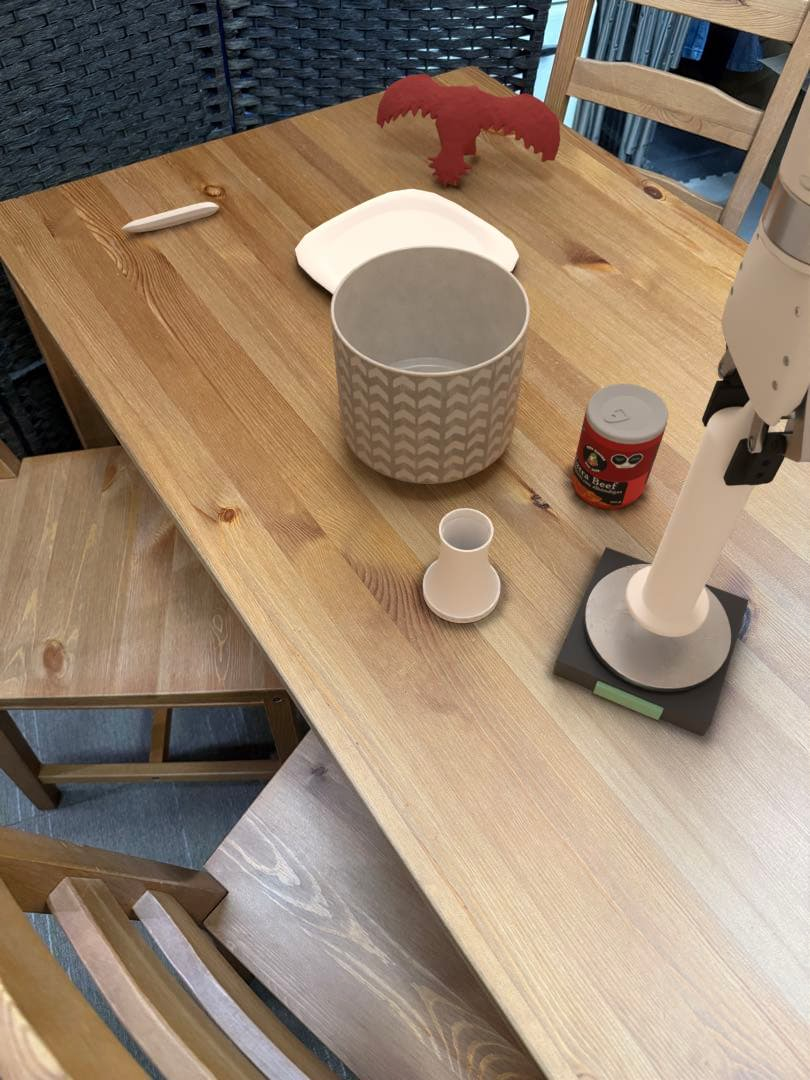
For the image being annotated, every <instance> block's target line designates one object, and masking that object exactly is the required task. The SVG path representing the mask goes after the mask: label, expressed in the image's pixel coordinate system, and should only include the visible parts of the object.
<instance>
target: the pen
mask: <svg viewBox="0 0 810 1080" xmlns="http://www.w3.org/2000/svg"><path fill="white" fill-rule="evenodd" d="M219 208H220V206H219V205H218V204H217V203H215V202H211V201H203V202H199V203H194V204H190V205H186V206H183V207H178V208H175V209H172V210H168V211H164V212H161V213H157V214H154V215H149V216H146V217H143V218H138V219H135V220H132V221H130V222H128V223H126V224H125V225H124V226H122V227H121V228H120V230H122V231H125V232H131V233H143V232H144V233H145V232H151V231H157V230H161V229H162V230H163V229H167V228H171V227H175V226H178V225H182V224H186V223H190V222H192V221H196V220H200V219H204V218H207V217H210V216H212V215H214V214H215V213H217V212H218V211H219Z"/></svg>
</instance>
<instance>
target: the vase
mask: <svg viewBox="0 0 810 1080" xmlns="http://www.w3.org/2000/svg"><path fill="white" fill-rule="evenodd" d="M494 530H495V529H494V526H493V522H492V521H491V520H490V517H488V516H487V515H486V514H485V513H483V512H482V511H480V510H477V509H475V508H467V507H466V508H465V507H463V508H456V509H454V510H451V511H449V512H448V513H446V514H445V515H444V516H443V517H442V518H441V520H440V522H439V526H438V534H439V539H440V550H439V556H438V558H437V559H435V560H434V561H433V562H432V563H431V564H430V565H429V567H428V568H427V569H426V571H425V573H424V576H423V580H422V595H423V599H424V601H425V603H426V606H427V607H428V608H429V610H431V612H433V613H434V614H435V615H436V616H437V617H439V618H441V619H443V620H445V621H447V622H451V623H454V624H455V623H456V624H470V623H473V622H474V623H475V622H477V621H479V620H482V619H484V618H485V617H487V616H489V615H490V614H491V613H492V612H493V610H494V609H495V608H496V607H497V605H498V602H499V600H500V594H501V580H500V577H499V574H498V572H497V571H496V569H495V568H494V567H493V566H492V564H491V563H490V560H489V551H490V550H489V549H490V545H491V543H492V539H493V536H494V532H495V531H494Z"/></svg>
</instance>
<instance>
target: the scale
mask: <svg viewBox="0 0 810 1080" xmlns="http://www.w3.org/2000/svg"><path fill="white" fill-rule="evenodd" d="M648 566H652V563H650V562H647V561H645V560H642V559H639V558H637V557H634V556H632V555H629V554H627V553H623V552H621V551H619V550H616V549H613V548H611V547H606V546H605V548H604V550H603V553H602V554H601V557H600V559H599V562H598V564H597V566H596V568H595V570H594V573H593V575H592V577H591V579H590V582H589V584H588V586H587V589H586V591H585V593H584V596H583V598H582V600H581V602H580V605H579V607H578V610H577V612H576V613H575V616H574V619H573V621H572V623H571V626H570V628H569V630H568V633H567V635H566V637H565V639H564V641H563V644H562V647H561V648H560V651H559V653H558V654H557V657H556V660H555V663H554V667H553V669H552V673H553V674H555V675H557V676H559V677H562V678H564V679H566V680H569V681H570V682H574V683H576V684H578V685H580V686H583V687H585V688H588V689H590V690H591V691H593V694H595V695H597V696H599V697H601V698H604V699H606V700H609V701H611V702H614V703H616V704H618V705H621V706H623V707H625V708H627V709H630V710H633V711H634V712H637V713H639V714H642V715H644V716H646V717H649V718H651V719H654V720H657V721H659V720H660V719H662V720H664V721H666V722H669V723H671V724H674V725H676V726H678V727H680V728H683V729H685V730H687V731H690V732H692V733H695V734H697V735H700V736H703V737H704V735H705V734H706V732H707V731H708V730H709V728H710V727H711V725H712V722H713V719H714V716H715V712H716V708H717V706H718V702H719V699H720V696H721V693H722V690H723V686H724V683H725V679H726V676H727V673H728V670H729V667H730V663H731V660H732V656H733V653H734V649H735V646H736V643H737V640H738V636H739V633H740V630H741V627H742V624H743V620H744V617H745V614H746V610H747V607H748V604H749V599H747V598H744V597H742V596H739V595H737V594H734V593H731V592H729V591H726V590H723V589H720V588H718V587H716V586H712V585H710V584H707V583H706V584H705V586H704V588H705V590H706V592H707V594H708V598H709V613H708V616H707V618H706V620H705V621H704V623H703V624H702V625H701V627H700V628H698V629H697V630H696V631H694V632H692V633H690V634H688V635H685V636H679V637H667V636H662V635H658V634H655V633H653V632H651V631H649V630H647V629H645V628H644V627H642V626H641V625H640V624H639V623H638V622H637V621H636V620H635V619H634V618H633V617H632V615H631V614H630V612H629V610H628V608H627V605H626V599H625V593H626V588H627V585H628V583H629V581H630V579H631V578H632V577H633V575H634V574H635V573H637V572H638V571H639V570H641V569H643V568H645V567H648Z"/></svg>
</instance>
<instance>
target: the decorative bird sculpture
mask: <svg viewBox="0 0 810 1080" xmlns="http://www.w3.org/2000/svg"><path fill="white" fill-rule="evenodd" d="M419 110H421V111H420V112H421V117H422V118H423V119H424V118H426V117H427V116H428V115H429V118H430V119H431V120H432V121H433V120H435V121H434V125H435V128H436V131H437V135H438V140H439V143H440V151H439V152H438V154H437V155H435V156H431V157H427V160H428V161H431V162H430V163H429V164H428V165H427V166H428V168H431V169H434V170H435V171H433V173H432V175H433V176H436V177H437V178H436V180H435V182H437V183H443V187H444V188H447V187H448V184H449V185H452V186H454V187H457V186H458V185H457V181H459V182H461V181H462V178H461V176H469V172H468V171H467V170H473V169H474V167H473V166H471V165H469V164H467V163H466V162H465V159H464V158H465V157H466V156H467V157H468V156H473V157H474V158H473V160H475V158H476V157H477V155H478V154H480V152H481V150H480V151H478V149H477V143H476V142H477V138H478V137H479V135H480V134H481V132H482V129H483V130H485V131H486V132H488V131H489V129H490V128H491V127H492V126H493V130H494V132H495V133H498V132H499V131H500V130H501V129H503V135H504V136H507V135H509V134H511V132H514V140H515V141H517V142H518V141H520V140H523V146H524V148H525V149H526V150H530V147H533V154H535V155H537V154H540V153H541V162H542V163H543V162H547V161H551V162H553V161H555V160H556V156H557V155H558V151H559V148H560V145H561V144H560V143H561V132H560V130H561V125H560V120H559V118H558V116H557V114H556V113H555V112H554V111H553V110H552V109H551V108H550V107H549V106H548V105H547V104H546V102H544V101H542V100H541V99H540V98H538V97H535V96H534V95H533V94H529V93H520V94H517V95H513V96H506V97H503V96H497V95H495V94H492V93H489V92H486V91H484V90H482V89H480V88H479V87H478V85H476V84H474V85H448V86H446V85H441V84H440V83H438V82H436V81H435V80H434V79H433V78H432V77H431V76H430V75H429V74H427V73H420V74H410V75H407V76H404V77H403V78H400V79H399V80H397V81H395V82H393V83H392V84H390V85H389V86H388V87H387V88H386V89H385V91H384V92H383V94H382V97H381V99H380V101H379V102H378V107H377V114H376V122H375V123H376V124H377V125H379V126H380V129H384V126H385V123H387V125H389V124H390V122H391V120H392V122H395V121H396V120H397V119H398V118H399V116H400V115H401V117H402V118H405V117H406V116H407V114H408V113H409V112H410V111H411V114H412V117H413V118H415V117H416V116H417V115H418V112H419ZM503 127H504V128H503ZM481 128H482V129H481ZM464 156H465V157H464Z"/></svg>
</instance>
